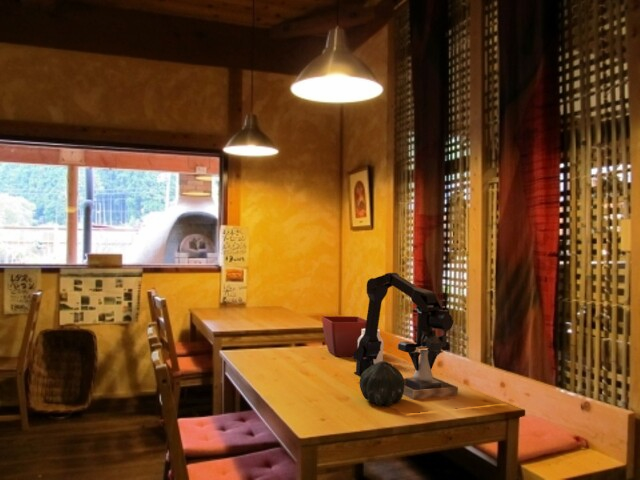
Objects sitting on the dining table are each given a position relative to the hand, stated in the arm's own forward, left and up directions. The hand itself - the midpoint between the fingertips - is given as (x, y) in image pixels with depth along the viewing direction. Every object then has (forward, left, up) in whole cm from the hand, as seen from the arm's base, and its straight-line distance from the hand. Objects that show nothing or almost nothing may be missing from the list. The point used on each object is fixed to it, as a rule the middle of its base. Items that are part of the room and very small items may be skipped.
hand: (423, 370), depth 191 cm
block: (0, 0, -8) cm, 8 cm away
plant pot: (+2, +70, -9) cm, 70 cm away
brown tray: (0, 0, -8) cm, 8 cm away
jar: (+4, +48, -8) cm, 49 cm away
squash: (-20, -6, -9) cm, 23 cm away
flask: (0, 0, -3) cm, 3 cm away
